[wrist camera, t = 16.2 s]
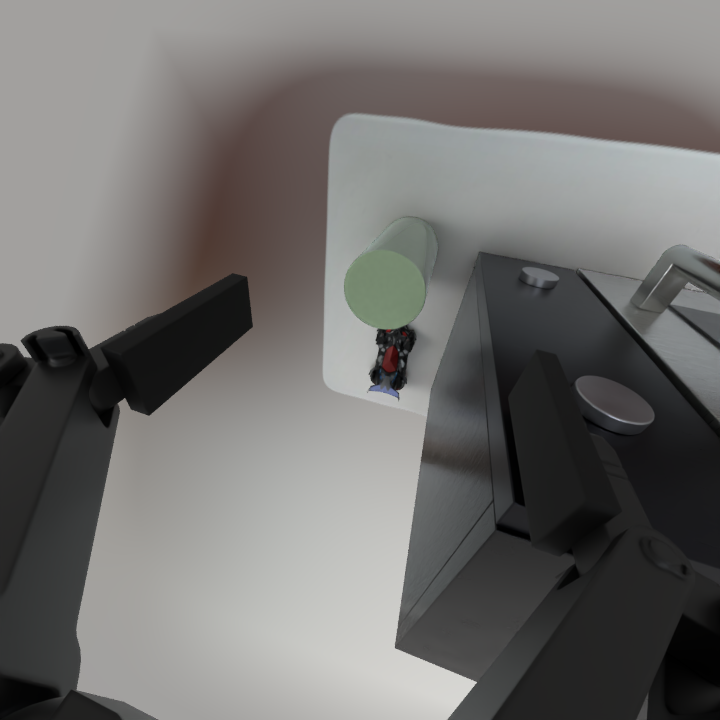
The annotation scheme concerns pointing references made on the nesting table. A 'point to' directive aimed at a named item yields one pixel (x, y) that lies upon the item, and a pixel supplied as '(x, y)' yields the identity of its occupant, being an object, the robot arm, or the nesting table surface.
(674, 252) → the microwave door
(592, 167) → the nesting table surface
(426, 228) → the canister
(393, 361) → the toy car
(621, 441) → the microwave
